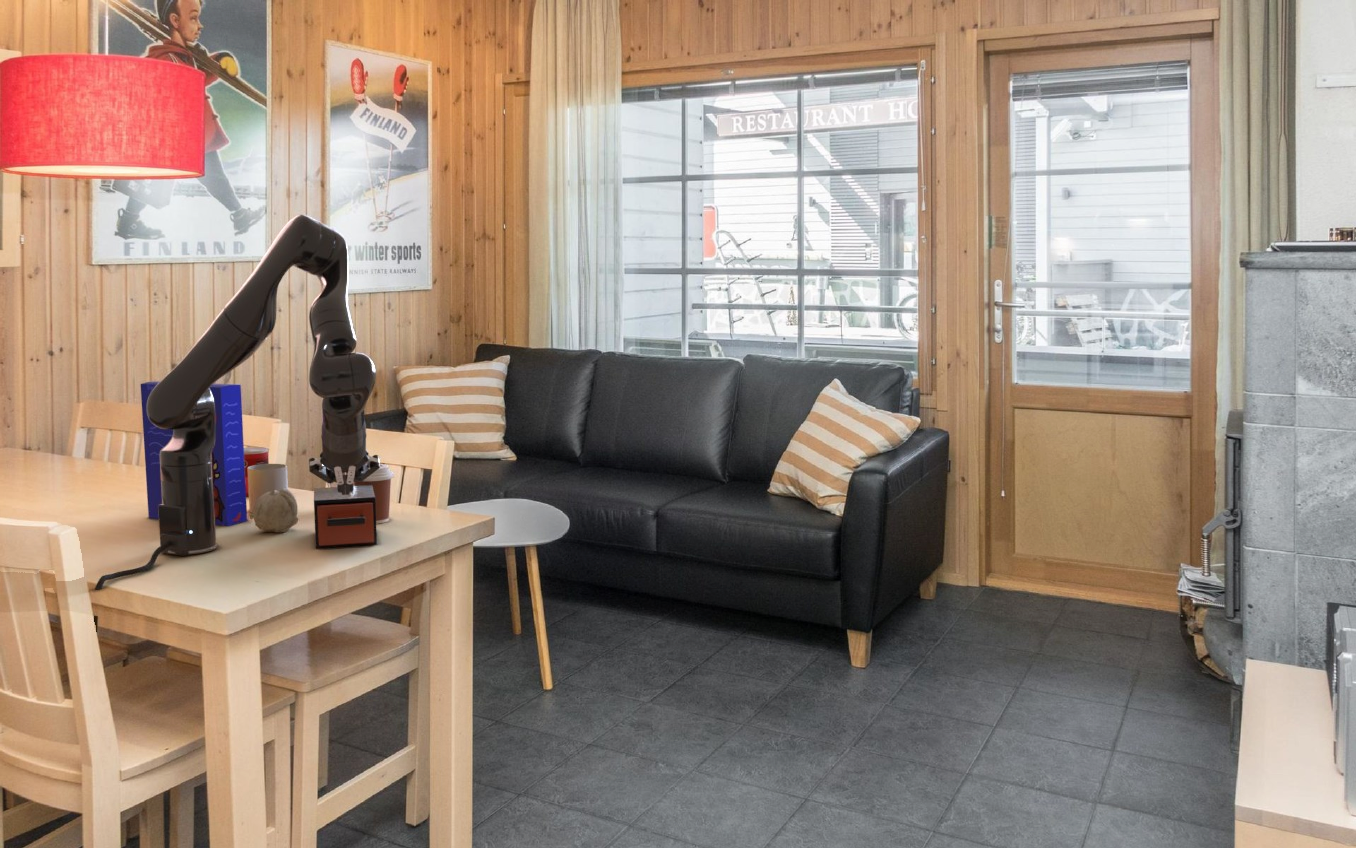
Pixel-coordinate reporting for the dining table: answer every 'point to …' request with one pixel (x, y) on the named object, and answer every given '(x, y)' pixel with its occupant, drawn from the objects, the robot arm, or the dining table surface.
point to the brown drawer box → (345, 523)
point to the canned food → (254, 460)
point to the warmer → (333, 496)
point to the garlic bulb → (275, 511)
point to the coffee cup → (380, 491)
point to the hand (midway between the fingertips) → (345, 490)
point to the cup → (265, 480)
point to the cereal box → (224, 455)
